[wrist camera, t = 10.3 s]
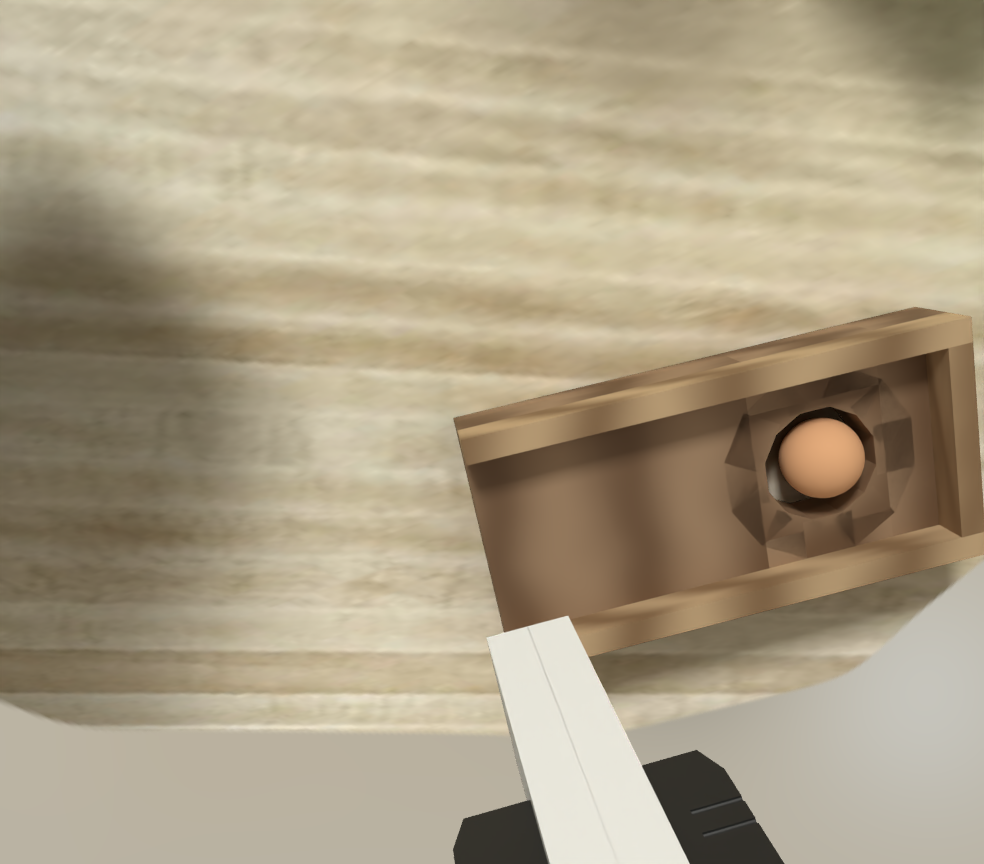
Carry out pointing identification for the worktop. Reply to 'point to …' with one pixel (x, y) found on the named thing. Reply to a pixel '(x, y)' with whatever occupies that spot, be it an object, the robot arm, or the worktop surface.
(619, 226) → the worktop surface
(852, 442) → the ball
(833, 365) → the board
